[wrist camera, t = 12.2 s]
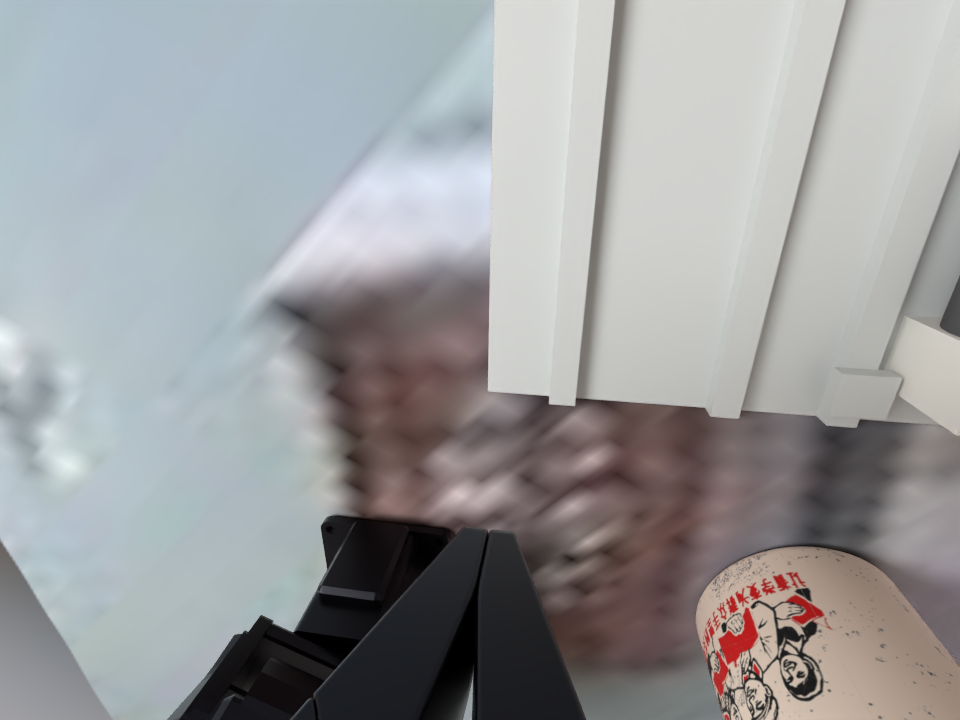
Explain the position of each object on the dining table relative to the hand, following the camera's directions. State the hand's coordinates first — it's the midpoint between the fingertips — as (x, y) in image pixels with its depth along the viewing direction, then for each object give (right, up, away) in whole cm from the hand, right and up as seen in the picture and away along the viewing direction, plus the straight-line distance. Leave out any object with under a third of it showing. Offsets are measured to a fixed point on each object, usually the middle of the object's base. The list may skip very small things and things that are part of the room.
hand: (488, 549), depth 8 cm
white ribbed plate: (+11, +8, +8) cm, 16 cm away
